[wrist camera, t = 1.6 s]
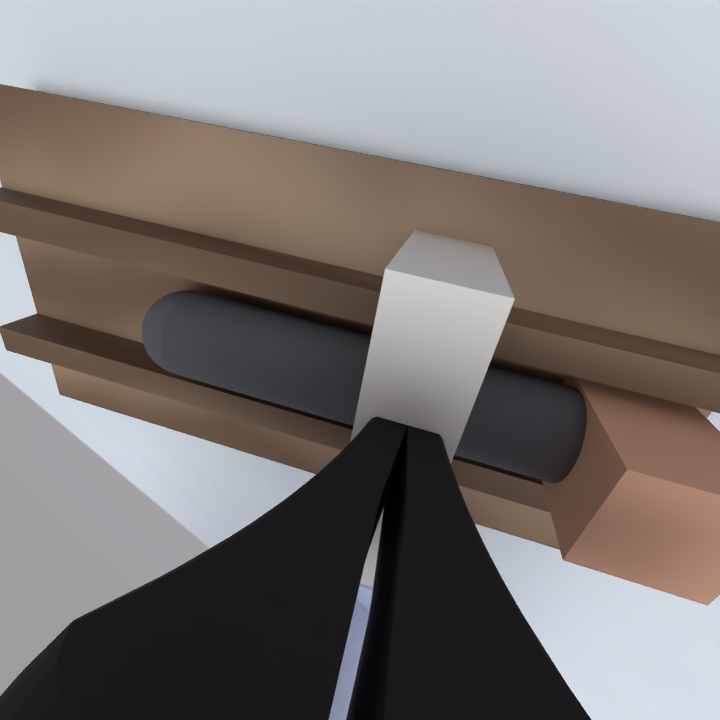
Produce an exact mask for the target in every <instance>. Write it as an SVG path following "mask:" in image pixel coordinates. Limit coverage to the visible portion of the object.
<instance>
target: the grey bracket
mask: <svg viewBox="0 0 720 720" xmlns="http://www.w3.org/2000/svg"><path fill="white" fill-rule="evenodd" d="M514 300H515V298H514V296H513V293H512V291H511V289H510V286H509V284H508V281H507V279H506V277H505V274H504V272H503V270H502V267H501V265H500V262H499V260H498V258H497V255H496V253H495V251H494V248H493V247H491V246H486V245H482V244H477V243H473V242H468V241H463V240H459V239H454V238H449V237H445V236H440V235H435V234H431V233H426V232H421V231H417V230H414V231H413V233H412V234H411V235H410V237H409V238H408V239H407V241H406V242H405V243H404V245H403V246H402V247H401V249H400V250H399V251H398V252H397V254H396V255H395V256H394V258H393V259H392V260H391V262H390V263H389V264H388V266H387V267H386V268H385V272H384V277H383V282H382V287H381V291H380V296H379V301H378V306H377V311H376V316H375V321H374V326H373V331H372V336H371V341H370V346H369V351H368V356H367V361H366V366H365V371H364V376H363V381H362V386H361V391H360V396H359V401H358V406H357V411H356V416H355V421H354V426H353V430H352V435H351V440H350V442H351V441H352V440H353V439H354V438H355V437H356V436H357V435H358V433H359V432H360V431H361V430H362V429H363V428H364V427H365V425H366V424H367V423H368V422H369V421H370V419H372V418H374V417H376V416H377V417H381V418H384V419H388V420H391V421H395V422H398V423H402V424H405V425H409V426H412V427H416V428H419V429H423V430H426V431H430V432H433V433H437V434H440V436H441V437H442V439H443V441H444V445H445V448H446V451H447V454H448V458H449V461H450V464H451V462H452V459H453V457H454V454H455V452H456V449H457V446H458V444H459V441H460V439H461V436H462V434H463V431H464V428H465V426H466V423H467V421H468V418H469V416H470V413H471V410H472V408H473V405H474V403H475V400H476V398H477V395H478V392H479V390H480V387H481V385H482V382H483V380H484V377H485V374H486V372H487V369H488V367H489V364H490V361H491V359H492V356H493V354H494V351H495V349H496V346H497V343H498V341H499V338H500V336H501V333H502V331H503V328H504V325H505V323H506V320H507V318H508V315H509V313H510V310H511V307H512V305H513V302H514ZM403 440H404V439H403ZM401 447H402V446H401ZM399 454H400V453H399ZM398 457H399V456H398ZM397 461H398V460H397ZM396 464H397V463H396ZM394 471H395V470H394ZM393 474H394V473H393ZM392 478H393V477H392ZM391 481H392V480H391ZM390 485H391V484H390ZM389 488H390V487H389ZM388 492H389V490H388ZM387 495H388V494H387ZM386 499H387V497H386ZM385 502H386V501H385ZM384 505H385V504H384ZM383 510H384V507H383ZM383 510H382V513H381V516H380V519H379V522H378V525H377V528H376V531H375V534H374V537H373V540H372V543H371V545H370V548H369V551H368V554H367V557H366V560H365V564H364V569H363V573H362V577H361V581H360V583H361V584H364V585H367V586H370V587H373V584H374V577H375V569H376V562H377V554H378V547H379V539H380V532H381V525H382V517H383Z"/></svg>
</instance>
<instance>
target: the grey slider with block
mask: <svg viewBox="0 0 720 720" xmlns="http://www.w3.org/2000/svg"><path fill="white" fill-rule="evenodd" d="M142 341H143V344H144V347H145V349H146V351H147V353H148V355H149V356H150V357H151V359H152V360H153V361H154V362H155V363H156V364H157V365H159V366H160V367H162V368H163V369H165V370H166V371H168V372H171V373H173V374H176V375H180V376H183V377H187V378H190V379H193V380H197V381H200V382H204V383H207V384H211V385H214V386H218V387H221V388H225V389H228V390H231V391H235V392H238V393H242V394H245V395H249V396H252V397H256V398H259V399H263V400H266V401H270V402H273V403H276V404H280V405H283V406H287V407H290V408H294V409H297V410H301V411H304V412H308V413H311V414H315V415H318V416H321V417H325V418H328V419H332V420H335V421H339V422H342V423H346V424H349V425H353V426H354V421H355V416H356V411H357V406H358V401H359V396H360V391H361V386H362V381H363V376H364V371H365V366H366V361H367V356H368V351H369V346H370V341H371V335H367V334H363V333H359V332H355V331H351V330H347V329H343V328H339V327H336V326H332V325H328V324H324V323H320V322H316V321H312V320H308V319H304V318H300V317H296V316H292V315H289V314H285V313H281V312H277V311H273V310H269V309H265V308H261V307H257V306H253V305H249V304H246V303H242V302H238V301H234V300H230V299H226V298H222V297H218V296H214V295H210V294H206V293H202V292H198V291H191V290H185V291H177V292H173V293H170V294H167V295H165V296H163V297H162V298H160V299H159V300H157V301H156V302H155V303H154V304H153V305H152V306H151V307H150V308H149V310H148V312H147V313H146V315H145V317H144V320H143V323H142ZM454 455H456V456H460V457H463V458H467V459H470V460H474V461H477V462H481V463H484V464H488V465H491V466H494V467H498V468H501V469H505V470H508V471H512V472H515V473H519V474H522V475H526V476H529V477H532V478H536V479H539V480H542V483H543V486H544V490H545V494H546V498H547V502H548V505H549V509H550V513H551V517H552V521H553V524H554V528H555V532H556V536H557V540H558V543H559V547H560V551H561V555H562V559H563V560H565V561H568V562H571V563H574V564H577V565H581V566H584V567H587V568H590V569H593V570H596V571H600V572H603V573H606V574H609V575H612V576H616V577H619V578H622V579H625V580H628V581H632V582H635V583H638V584H641V585H644V586H648V587H651V588H654V589H657V590H660V591H664V592H667V593H670V594H673V595H676V596H679V597H683V598H686V599H689V600H692V601H695V602H699V603H702V604H705V605H709V604H710V603H711V602H712V601H713V600H714V599H715V598H716V597H718V596H719V595H720V432H719V431H718V430H717V429H716V428H715V427H714V426H713V425H712V424H711V423H710V422H709V421H708V419H707V418H706V417H705V416H704V415H703V414H702V413H701V412H700V411H699V410H698V409H697V408H696V407H693V406H689V405H685V404H681V403H677V402H673V401H669V400H665V399H661V398H657V397H653V396H649V395H645V394H642V393H638V392H634V391H630V390H626V389H622V388H618V387H614V386H610V385H606V384H602V383H598V382H594V381H590V380H586V379H582V378H578V377H574V376H570V375H566V377H565V379H564V381H563V383H562V384H559V383H555V382H551V381H547V380H543V379H539V378H535V377H531V376H527V375H523V374H519V373H515V372H512V371H508V370H504V369H500V368H496V367H492V366H489V367H488V369H487V372H486V374H485V377H484V380H483V382H482V385H481V387H480V390H479V392H478V395H477V398H476V400H475V403H474V405H473V408H472V410H471V413H470V416H469V418H468V421H467V423H466V426H465V428H464V431H463V434H462V436H461V439H460V441H459V444H458V446H457V449H456V452H455V454H454Z"/></svg>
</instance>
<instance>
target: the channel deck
mask: <svg viewBox="0 0 720 720" xmlns="http://www.w3.org/2000/svg"><path fill="white" fill-rule="evenodd" d="M0 180H1V184H2V188H0V232H3V233H7V234H11V235H15V236H16V238H17V242H18V245H19V249H20V252H21V256H22V260H23V263H24V267H25V271H26V274H27V278H28V281H29V285H30V289H31V292H32V296H33V299H34V303H35V307H36V310H37V314H35V315H32V316H29V317H26V318H23V319H20V320H17V321H14V322H12V323H9V324H6V325H3V326H0V333H1V336H2V339H3V342H4V345H5V348H6V350H8V351H11V352H14V353H18V354H21V355H25V356H28V357H31V358H35V359H38V360H41V361H45V362H48V363H51V364H52V368H53V372H54V375H55V379H56V382H57V386H58V390H59V393H60V395H63V396H66V397H69V398H73V399H76V400H79V401H82V402H85V403H89V404H92V405H95V406H98V407H102V408H105V409H108V410H111V411H114V412H118V413H121V414H124V415H127V416H131V417H134V418H137V419H140V420H143V421H147V422H150V423H153V424H156V425H160V426H163V427H166V428H169V429H172V430H176V431H179V432H182V433H185V434H189V435H192V436H195V437H198V438H201V439H205V440H208V441H211V442H214V443H218V444H221V445H224V446H227V447H231V448H234V449H237V450H240V451H243V452H247V453H250V454H253V455H256V456H260V457H263V458H266V459H269V460H272V461H276V462H279V463H282V464H285V465H289V466H292V467H295V468H298V469H301V470H305V471H308V472H311V473H314V474H317V473H319V472H320V471H321V470H322V469H323V468H324V467H325V466H326V465H327V464H328V463H329V462H331V461H332V460H333V459H334V458H335V457H336V456H337V455H338V454H339V453H340V452H341V451H342V450H343V449H344V448H345V447H346V446H347V445H348V444H349V443H350V440H351V435H352V430H353V425H349V424H346V423H342V422H339V421H335V420H332V419H328V418H325V417H321V416H318V415H315V414H311V413H308V412H304V411H301V410H297V409H294V408H290V407H287V406H283V405H280V404H276V403H273V402H270V401H266V400H263V399H259V398H256V397H252V396H249V395H245V394H242V393H238V392H235V391H231V390H228V389H225V388H221V387H218V386H214V385H211V384H207V383H204V382H200V381H197V380H193V379H190V378H187V377H183V376H180V375H176V374H173V373H171V372H168V371H166V370H165V369H163V368H162V367H160V366H159V365H157V364H156V363H155V362H154V361H153V360H152V359H151V357H150V356H149V355H148V353H147V351H146V349H145V347H144V344H143V341H142V323H143V320H144V317H145V315H146V313H147V312H148V310H149V308H150V307H151V306H152V305H153V304H154V303H155V302H156V301H157V300H159V299H160V298H162V297H163V296H165V295H167V294H170V293H173V292H177V291H185V290H191V291H198V292H202V293H206V294H210V295H214V296H218V297H222V298H226V299H230V300H234V301H238V302H242V303H246V304H249V305H253V306H257V307H261V308H265V309H269V310H273V311H277V312H281V313H285V314H289V315H292V316H296V317H300V318H304V319H308V320H312V321H316V322H320V323H324V324H328V325H332V326H336V327H339V328H343V329H347V330H351V331H355V332H359V333H363V334H367V335H371V336H372V331H373V326H374V321H375V316H376V311H377V306H378V301H379V296H380V291H381V287H382V282H383V277H384V272H385V268H386V267H387V266H388V264H389V263H390V262H391V260H392V259H393V258H394V256H395V255H396V254H397V252H398V251H399V250H400V249H401V247H402V246H403V245H404V243H405V242H406V241H407V239H408V238H409V237H410V235H411V234H412V233H413V231H414V230H417V231H421V232H426V233H431V234H435V235H440V236H445V237H449V238H454V239H459V240H463V241H468V242H473V243H477V244H482V245H486V246H491V247H493V248H494V251H495V253H496V255H497V258H498V260H499V262H500V265H501V267H502V270H503V272H504V274H505V277H506V279H507V281H508V284H509V286H510V289H511V291H512V293H513V296H514V298H515V300H514V302H513V305H512V307H511V310H510V313H509V315H508V318H507V320H506V323H505V325H504V328H503V331H502V333H501V336H500V338H499V341H498V343H497V346H496V349H495V351H494V354H493V356H492V359H491V361H490V364H489V366H492V367H496V368H500V369H504V370H508V371H512V372H515V373H519V374H523V375H527V376H531V377H535V378H539V379H543V380H547V381H551V382H555V383H559V384H562V383H563V381H564V379H565V377H566V375H570V376H574V377H578V378H582V379H586V380H590V381H594V382H598V383H602V384H606V385H610V386H614V387H618V388H622V389H626V390H630V391H634V392H638V393H642V394H645V395H649V396H653V397H657V398H661V399H665V400H669V401H673V402H677V403H681V404H685V405H689V406H693V407H696V408H697V409H698V410H699V411H700V412H701V413H702V414H703V415H704V416H705V417H706V418H707V417H708V416H709V415H710V413H711V412H712V411H713V412H717V413H720V222H716V221H711V220H705V219H700V218H695V217H690V216H685V215H679V214H674V213H669V212H664V211H659V210H653V209H648V208H643V207H638V206H633V205H627V204H622V203H617V202H612V201H607V200H601V199H596V198H591V197H586V196H581V195H575V194H570V193H565V192H560V191H555V190H549V189H544V188H539V187H534V186H529V185H523V184H518V183H513V182H508V181H503V180H497V179H492V178H487V177H482V176H477V175H471V174H466V173H461V172H456V171H451V170H445V169H440V168H435V167H430V166H425V165H419V164H414V163H409V162H404V161H399V160H393V159H388V158H383V157H378V156H373V155H367V154H362V153H357V152H352V151H347V150H341V149H336V148H331V147H326V146H321V145H315V144H310V143H305V142H300V141H295V140H289V139H284V138H279V137H274V136H269V135H263V134H258V133H253V132H248V131H243V130H237V129H232V128H227V127H222V126H216V125H211V124H206V123H201V122H196V121H190V120H185V119H180V118H175V117H170V116H164V115H159V114H154V113H149V112H144V111H138V110H133V109H128V108H123V107H118V106H112V105H107V104H102V103H97V102H92V101H86V100H81V99H76V98H71V97H66V96H60V95H55V94H50V93H45V92H40V91H34V90H29V89H23V88H18V87H12V86H7V85H2V84H0ZM451 467H452V469H453V472H454V475H455V477H456V480H457V483H458V486H459V488H460V491H461V493H462V496H463V498H464V501H465V503H466V506H467V508H468V510H469V512H470V515H471V517H472V519H473V521H474V523H476V524H479V525H482V526H485V527H488V528H492V529H495V530H498V531H501V532H505V533H508V534H511V535H514V536H517V537H521V538H524V539H527V540H530V541H534V542H537V543H540V544H543V545H546V546H550V547H553V548H556V549H559V550H560V547H559V543H558V540H557V536H556V532H555V528H554V524H553V521H552V517H551V513H550V509H549V505H548V502H547V498H546V494H545V490H544V486H543V483H542V480H539V479H536V478H532V477H529V476H526V475H522V474H519V473H515V472H512V471H508V470H505V469H501V468H498V467H494V466H491V465H488V464H484V463H481V462H477V461H474V460H470V459H467V458H463V457H460V456H456V455H454V457H453V459H452V462H451Z"/></svg>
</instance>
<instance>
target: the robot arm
mask: <svg viewBox="0 0 720 720" xmlns="http://www.w3.org/2000/svg"><path fill="white" fill-rule="evenodd" d="M403 439H404V440H403ZM401 446H402V447H401ZM399 453H400V454H399ZM398 456H399V457H398ZM397 460H398V461H397ZM396 463H397V464H396ZM394 470H395V471H394ZM393 473H394V474H393ZM392 477H393V478H392ZM391 480H392V481H391ZM390 484H391V485H390ZM389 487H390V488H389ZM388 490H389V492H388ZM387 494H388V495H387ZM386 497H387V499H386ZM385 501H386V502H385ZM384 504H385V505H384ZM383 507H384V510H383ZM382 510H383V517H382V525H381V532H380V539H379V547H378V554H377V562H376V569H375V577H374V584H373V587H370V586H367V585H364V584H361V583H360V581H361V577H362V573H363V569H364V564H365V560H366V557H367V554H368V551H369V548H370V545H371V543H372V540H373V537H374V534H375V531H376V528H377V525H378V522H379V519H380V516H381V513H382ZM0 720H591V719H590V717H589V716H588V714H587V713H586V711H585V710H584V708H583V707H582V705H581V704H580V703H579V701H578V700H577V698H576V697H575V695H574V694H573V692H572V691H571V690H570V688H569V687H568V685H567V684H566V682H565V680H564V679H563V677H562V676H561V674H560V673H559V671H558V669H557V668H556V666H555V665H554V663H553V662H552V660H551V658H550V657H549V655H548V654H547V652H546V651H545V649H544V647H543V646H542V644H541V643H540V641H539V639H538V638H537V636H536V635H535V633H534V632H533V630H532V628H531V627H530V625H529V624H528V622H527V621H526V619H525V617H524V616H523V614H522V613H521V611H520V609H519V607H518V606H517V604H516V602H515V600H514V599H513V597H512V595H511V593H510V592H509V590H508V588H507V586H506V585H505V583H504V581H503V579H502V578H501V576H500V574H499V572H498V570H497V568H496V566H495V564H494V562H493V561H492V559H491V557H490V555H489V553H488V551H487V549H486V547H485V545H484V543H483V541H482V539H481V537H480V535H479V532H478V530H477V528H476V526H475V524H474V521H473V519H472V517H471V515H470V512H469V510H468V508H467V506H466V503H465V501H464V498H463V496H462V493H461V491H460V488H459V486H458V483H457V480H456V477H455V475H454V472H453V469H452V467H451V464H450V461H449V458H448V454H447V451H446V448H445V445H444V441H443V439H442V437H441V436H440V434H437V433H433V432H430V431H426V430H423V429H419V428H416V427H412V426H409V425H405V424H402V423H398V422H395V421H391V420H388V419H384V418H381V417H377V416H376V417H374V418H372V419H370V421H369V422H368V423H367V424H366V425H365V427H364V428H363V429H362V430H361V431H360V432H359V433H358V435H357V436H356V437H355V438H354V439H353V440H352V441H351V442H350V443H349V444H348V445H347V446H346V447H345V448H344V449H343V450H342V451H341V452H340V453H339V454H338V455H337V456H336V457H335V458H334V459H333V460H332V461H331V462H329V463H328V464H327V465H326V466H325V467H324V468H323V469H322V470H321V471H320V472H319V473H317V474H316V475H315V476H314V477H313V478H312V479H310V480H309V481H308V482H307V483H306V484H304V485H303V486H302V487H301V488H299V489H298V490H297V491H295V492H294V493H293V494H292V495H290V496H289V497H288V498H286V499H285V500H284V501H282V502H281V503H280V504H278V505H277V506H275V507H274V508H272V509H271V510H270V511H268V512H267V513H265V514H264V515H262V516H261V517H259V518H258V519H257V520H255V521H254V522H252V523H251V524H249V525H248V526H246V527H245V528H243V529H242V530H240V531H238V532H237V533H235V534H234V535H232V536H230V537H229V538H227V539H225V540H224V541H222V542H220V543H219V544H217V545H215V546H213V547H212V548H210V549H208V550H207V551H205V552H203V553H201V554H200V555H198V556H196V557H195V558H193V559H191V560H189V561H188V562H186V563H184V564H183V565H181V566H179V567H177V568H176V569H174V570H172V571H170V572H168V573H166V574H164V575H163V576H161V577H159V578H157V579H155V580H153V581H151V582H149V583H147V584H145V585H143V586H141V587H139V588H137V589H135V590H133V591H131V592H129V593H127V594H125V595H123V596H121V597H119V598H117V599H115V600H113V601H111V602H109V603H107V604H105V605H103V606H101V607H99V608H97V609H95V610H93V611H91V612H89V613H87V614H85V615H83V616H81V617H79V618H77V619H75V620H74V621H72V622H71V623H70V624H69V625H68V626H67V627H66V628H65V629H64V630H63V631H62V632H61V633H60V634H59V635H58V636H57V637H56V638H55V639H54V640H53V641H52V642H51V643H50V644H49V645H48V646H47V647H46V648H45V649H44V650H43V651H42V652H41V653H40V654H39V655H38V656H37V657H36V658H35V659H34V660H33V661H32V662H31V663H30V664H29V665H28V666H27V667H26V668H25V669H24V670H23V671H22V672H21V673H20V674H19V676H18V677H17V678H16V679H15V680H14V681H13V682H12V683H11V685H10V686H9V687H8V688H7V689H6V690H5V692H4V693H3V694H2V695H1V696H0Z"/></svg>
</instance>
